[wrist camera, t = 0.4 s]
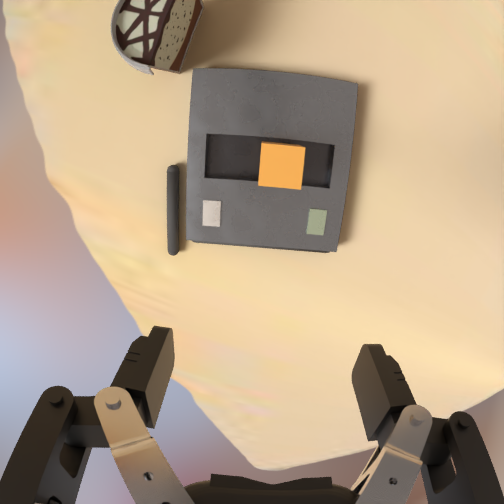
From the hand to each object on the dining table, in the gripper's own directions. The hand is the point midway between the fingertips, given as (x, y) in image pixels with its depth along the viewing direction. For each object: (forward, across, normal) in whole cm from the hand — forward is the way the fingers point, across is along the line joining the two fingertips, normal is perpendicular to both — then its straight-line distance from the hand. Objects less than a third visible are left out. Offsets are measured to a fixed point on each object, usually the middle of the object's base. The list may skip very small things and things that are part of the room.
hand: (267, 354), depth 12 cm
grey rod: (+26, +11, +2) cm, 28 cm away
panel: (+26, 0, -5) cm, 26 cm away
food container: (+26, +13, -20) cm, 36 cm away
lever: (+26, -1, -5) cm, 27 cm away
